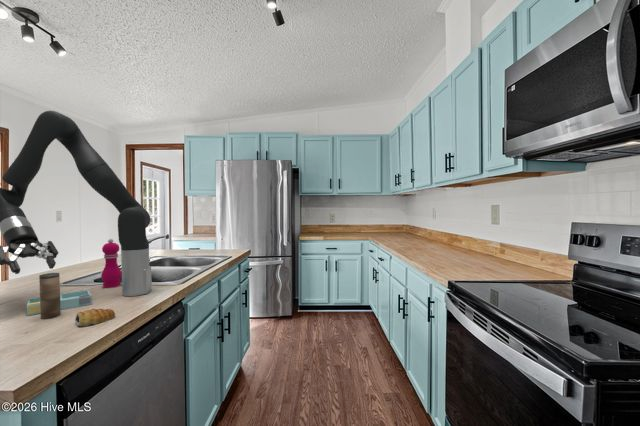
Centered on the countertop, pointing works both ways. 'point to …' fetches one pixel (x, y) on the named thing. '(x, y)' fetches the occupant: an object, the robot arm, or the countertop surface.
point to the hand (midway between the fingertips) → (36, 269)
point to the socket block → (62, 301)
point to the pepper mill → (111, 265)
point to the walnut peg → (50, 295)
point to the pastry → (93, 316)
